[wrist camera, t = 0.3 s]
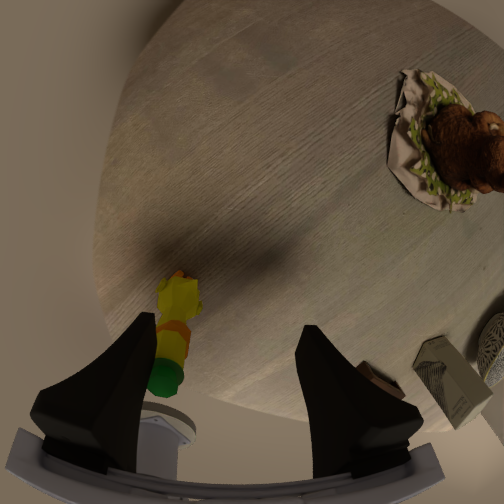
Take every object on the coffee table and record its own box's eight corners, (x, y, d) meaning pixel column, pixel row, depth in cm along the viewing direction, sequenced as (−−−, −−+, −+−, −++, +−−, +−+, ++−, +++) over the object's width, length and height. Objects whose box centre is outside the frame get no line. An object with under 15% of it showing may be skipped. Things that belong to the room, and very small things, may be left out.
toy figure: (176, 320, 24) (156, 432, 13) (142, 299, 23) (102, 406, 12) (219, 266, 22) (220, 377, 11) (182, 241, 21) (149, 340, 10)
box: (423, 341, 29) (476, 405, 18) (444, 334, 30) (496, 392, 18) (410, 369, 31) (454, 432, 20) (431, 362, 32) (475, 419, 20)
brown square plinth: (321, 395, 30) (328, 413, 28) (363, 360, 29) (374, 377, 26) (361, 411, 34) (367, 425, 31) (397, 382, 32) (406, 396, 29)
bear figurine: (464, 227, 24) (543, 270, 13) (369, 178, 21) (480, 216, 10) (489, 122, 20) (569, 135, 8) (401, 48, 17) (499, 19, 5)
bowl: (450, 353, 32) (475, 382, 25) (506, 273, 28) (537, 294, 21) (472, 371, 37) (491, 394, 30) (518, 309, 33) (540, 327, 26)
